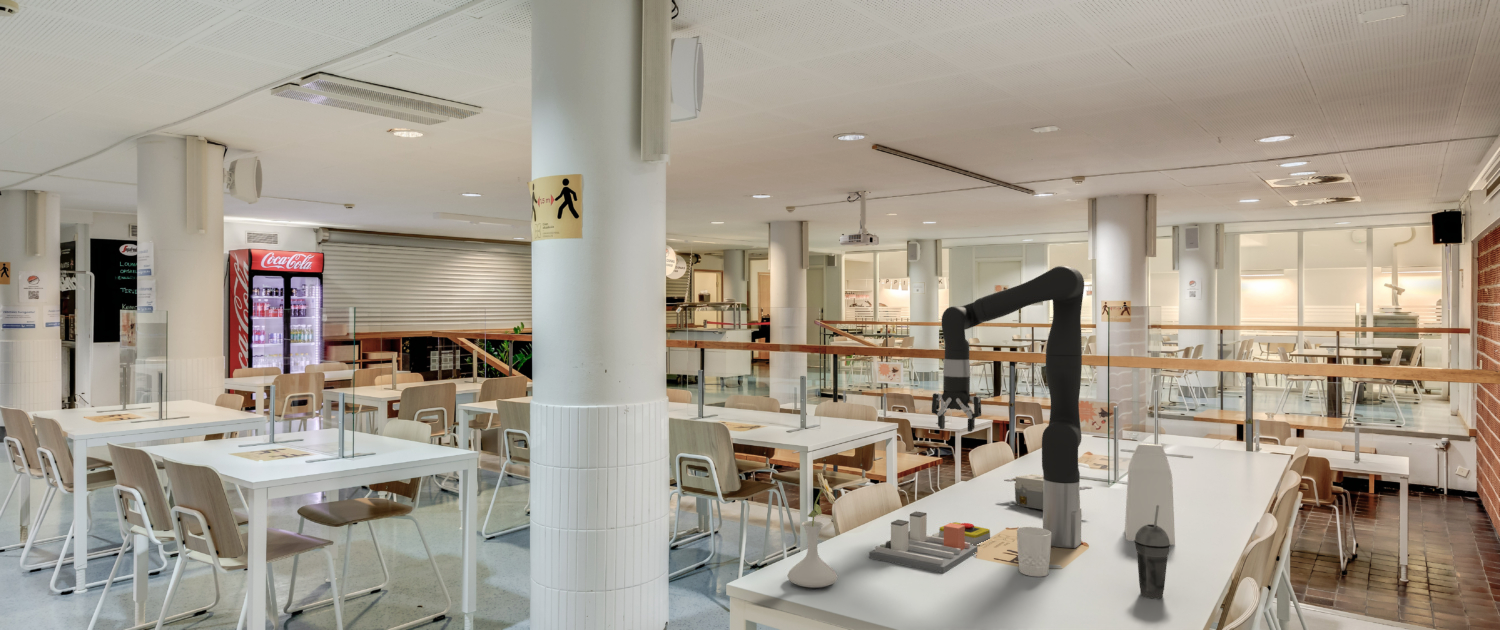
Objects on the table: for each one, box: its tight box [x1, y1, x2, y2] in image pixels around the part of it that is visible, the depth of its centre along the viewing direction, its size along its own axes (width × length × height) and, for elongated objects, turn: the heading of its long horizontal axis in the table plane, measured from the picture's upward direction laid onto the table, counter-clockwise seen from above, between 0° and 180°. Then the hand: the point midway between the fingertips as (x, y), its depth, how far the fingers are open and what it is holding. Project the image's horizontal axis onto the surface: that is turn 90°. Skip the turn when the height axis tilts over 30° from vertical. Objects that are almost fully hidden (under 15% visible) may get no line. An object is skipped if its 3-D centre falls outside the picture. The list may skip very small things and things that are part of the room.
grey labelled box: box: [1003, 473, 1093, 511], centre depth 265 cm, size 12×28×10 cm, turn 31°
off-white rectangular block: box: [909, 510, 928, 542], centre depth 219 cm, size 3×4×7 cm
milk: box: [1124, 443, 1176, 546], centre depth 232 cm, size 12×12×26 cm
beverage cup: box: [1133, 505, 1171, 600], centre depth 184 cm, size 7×7×20 cm
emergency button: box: [931, 521, 991, 546], centre depth 229 cm, size 9×4×15 cm
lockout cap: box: [943, 522, 965, 550], centre depth 213 cm, size 4×4×6 cm
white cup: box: [1016, 526, 1052, 578], centre depth 199 cm, size 8×8×10 cm
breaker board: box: [868, 530, 978, 574], centre depth 213 cm, size 20×22×4 cm
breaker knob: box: [890, 519, 910, 552], centre depth 210 cm, size 3×4×7 cm
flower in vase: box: [787, 472, 838, 589], centre depth 190 cm, size 13×11×25 cm
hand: (955, 430), depth 242 cm, fingers open, 8 cm apart
